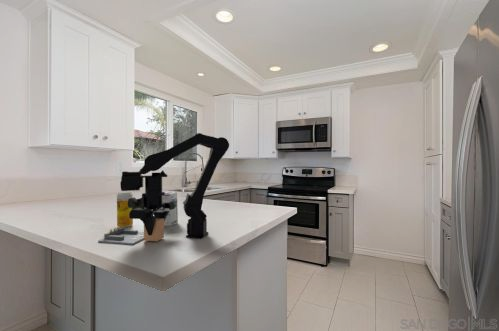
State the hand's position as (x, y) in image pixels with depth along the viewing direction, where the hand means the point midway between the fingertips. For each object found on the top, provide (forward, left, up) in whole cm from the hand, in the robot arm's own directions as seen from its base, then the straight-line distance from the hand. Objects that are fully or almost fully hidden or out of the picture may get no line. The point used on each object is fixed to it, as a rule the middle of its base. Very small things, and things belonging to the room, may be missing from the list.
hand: (154, 233), depth 84 cm
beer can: (+24, -14, -3) cm, 28 cm away
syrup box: (+7, -21, -3) cm, 22 cm away
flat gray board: (+11, 0, -2) cm, 11 cm away
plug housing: (0, 0, -2) cm, 2 cm away
